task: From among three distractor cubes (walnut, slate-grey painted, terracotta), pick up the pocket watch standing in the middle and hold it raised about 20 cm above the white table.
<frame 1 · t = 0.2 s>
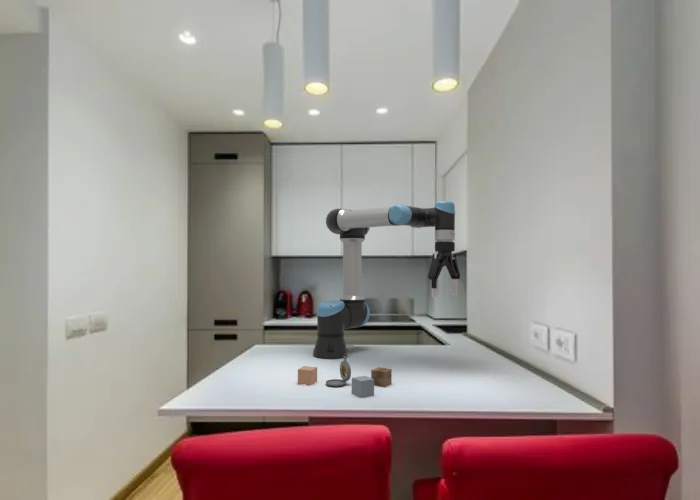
hand: (444, 296, 174), 28 cm above the worktop, fingers open, 13 cm apart
pocket watch: (339, 385, 150), on the worktop
terracotta cube: (307, 383, 151), on the worktop
walnut cube: (381, 384, 150), on the worktop
slate cube: (362, 394, 139), on the worktop
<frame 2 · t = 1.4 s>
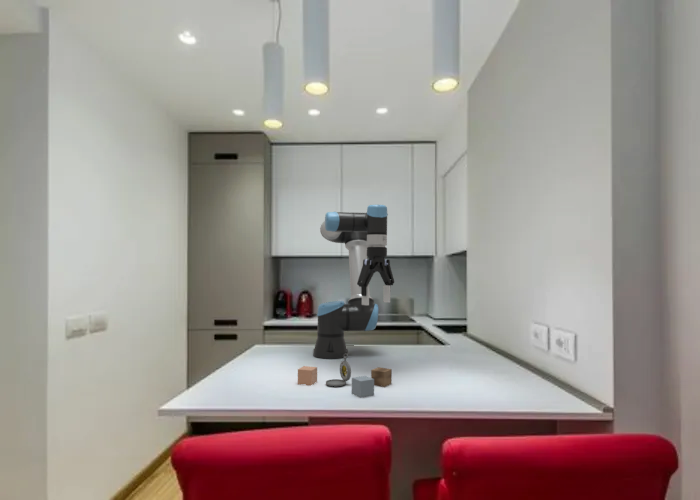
hand: (376, 303, 167), 25 cm above the worktop, fingers open, 13 cm apart
nothing on the worktop moved.
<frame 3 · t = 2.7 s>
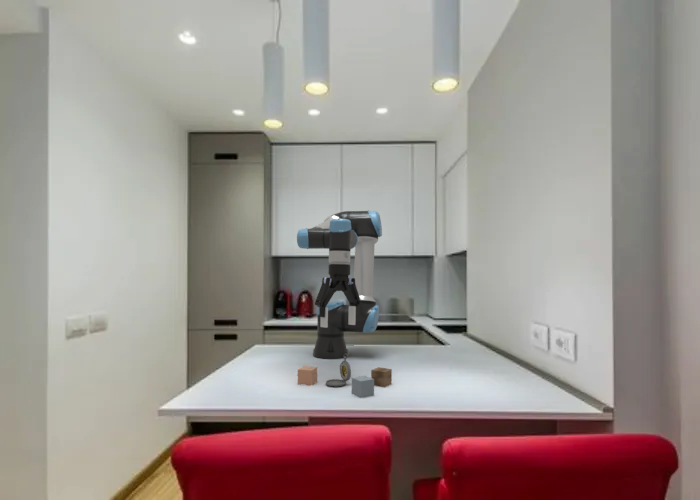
hand: (338, 326, 154), 19 cm above the worktop, fingers open, 13 cm apart
nothing on the worktop moved.
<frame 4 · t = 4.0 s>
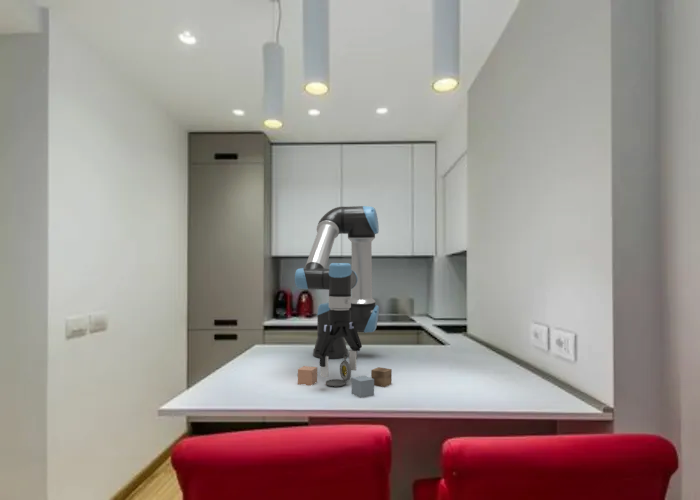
hand: (339, 373, 150), 4 cm above the worktop, fingers open, 13 cm apart
nothing on the worktop moved.
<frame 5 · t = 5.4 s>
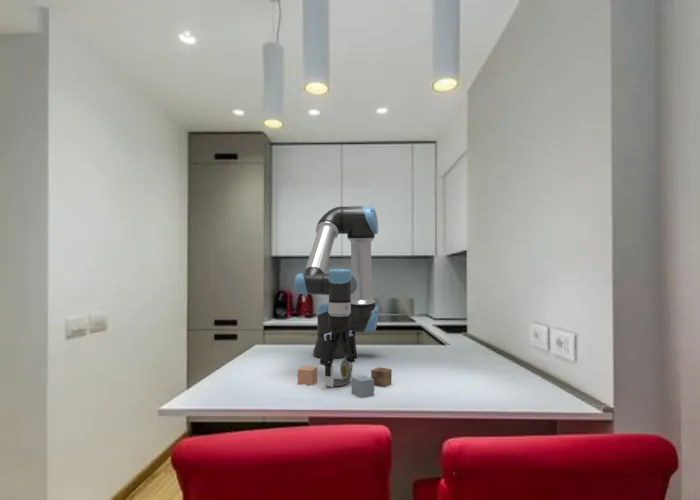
hand: (338, 383, 150), 0 cm above the worktop, fingers closed on pocket watch, 8 cm apart
pocket watch: (339, 384, 150), on the worktop, touching gripper
everything else where it was.
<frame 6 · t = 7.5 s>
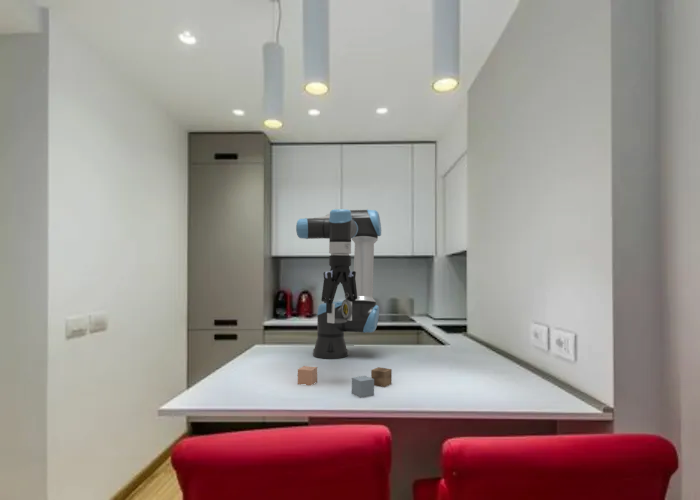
hand: (339, 321, 153), 21 cm above the worktop, fingers closed on pocket watch, 8 cm apart
pocket watch: (340, 322, 154), point 20 cm above the worktop, touching gripper
everything else where it was.
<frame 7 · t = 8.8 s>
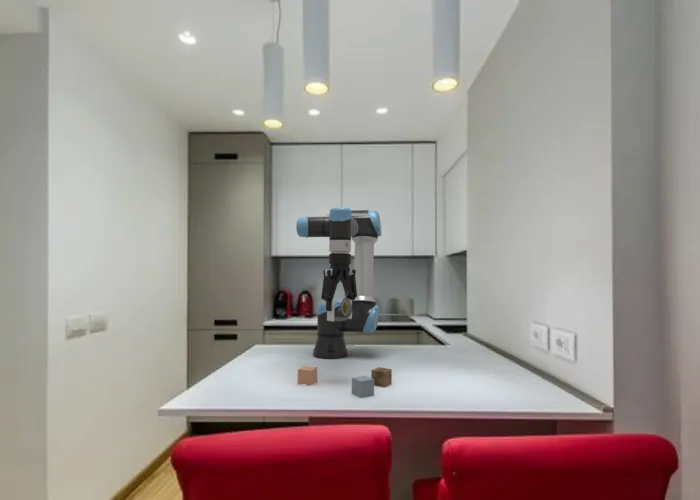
hand: (339, 319, 153), 21 cm above the worktop, fingers closed on pocket watch, 8 cm apart
pocket watch: (340, 321, 154), point 21 cm above the worktop, touching gripper
everything else where it was.
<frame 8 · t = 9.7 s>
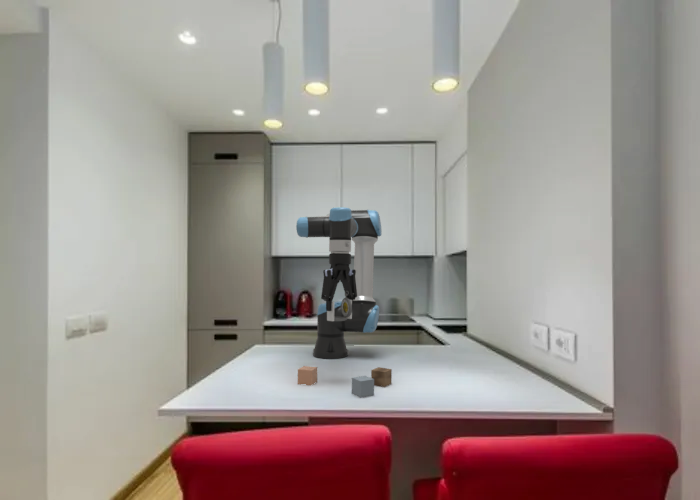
hand: (339, 319, 153), 21 cm above the worktop, fingers closed on pocket watch, 8 cm apart
pocket watch: (340, 321, 154), point 21 cm above the worktop, touching gripper
everything else where it was.
at the end: the gripper is holding pocket watch; pocket watch point 20.6 cm above the worktop; terracotta cube moved 0.1 cm from its start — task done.
